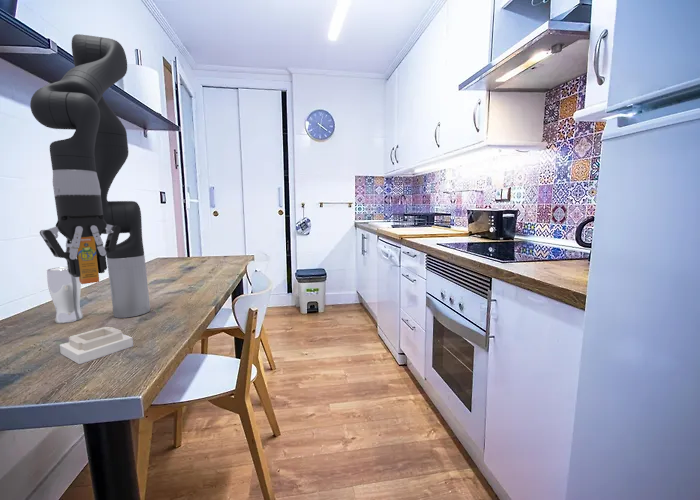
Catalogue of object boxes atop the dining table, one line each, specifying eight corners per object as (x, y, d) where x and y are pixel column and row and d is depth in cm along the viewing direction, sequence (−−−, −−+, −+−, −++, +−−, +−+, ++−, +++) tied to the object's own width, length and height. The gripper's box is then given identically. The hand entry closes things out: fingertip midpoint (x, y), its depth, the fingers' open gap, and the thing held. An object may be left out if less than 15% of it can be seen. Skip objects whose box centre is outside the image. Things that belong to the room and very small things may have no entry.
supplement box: (80, 284, 69) (74, 237, 68) (79, 282, 71) (73, 236, 70) (100, 282, 71) (94, 235, 70) (98, 279, 74) (92, 234, 72)
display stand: (60, 353, 72) (58, 338, 71) (113, 337, 80) (111, 323, 79) (79, 364, 66) (77, 347, 66) (133, 346, 75) (131, 331, 74)
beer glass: (91, 317, 96) (84, 266, 94) (64, 325, 90) (56, 271, 88) (75, 315, 99) (68, 265, 97) (47, 322, 92) (39, 270, 90)
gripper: (108, 194, 77) (117, 267, 79) (26, 193, 65) (39, 279, 67) (124, 193, 73) (133, 270, 75) (39, 192, 61) (52, 283, 63)
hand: (88, 274), depth 71 cm, fingers closed on supplement box, 3 cm apart
